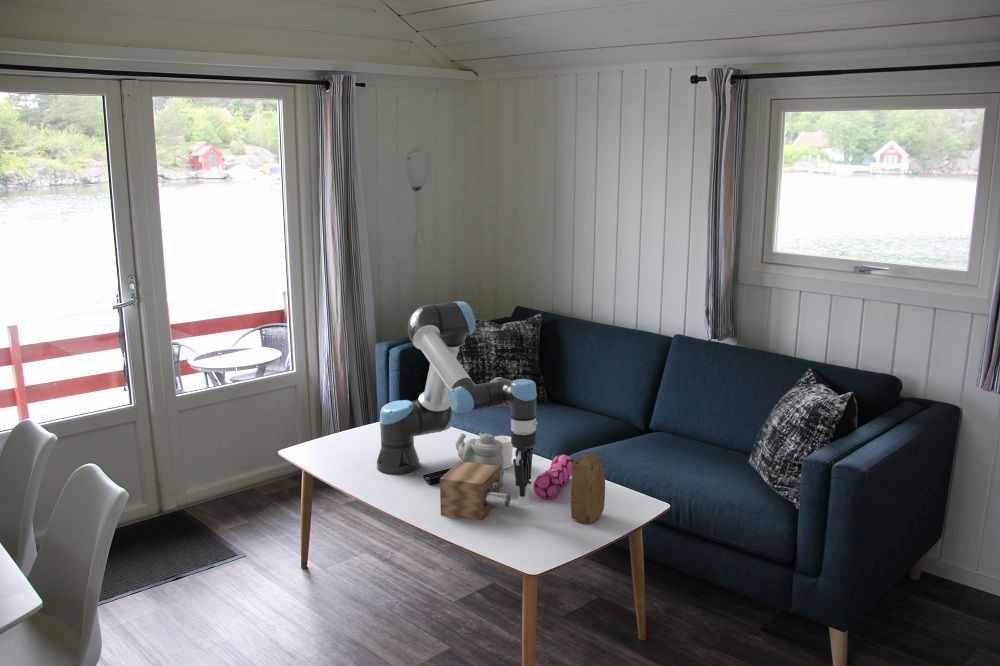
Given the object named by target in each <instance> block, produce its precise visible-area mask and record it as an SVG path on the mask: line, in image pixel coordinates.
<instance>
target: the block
mask: <svg viewBox="0 0 1000 666" xmlns="http://www.w3.org/2000/svg"><path fill="white" fill-rule="evenodd" d="M570 478H571V480H570V514H571V518H572V519H573V520H575V521H576V522H578V523H580V524H593V523H596V522H597V521H598V520H600V519H599V518H600V517H601V516H602V514H603V512H604V509H605V499H606V476H605V471H604V468H603V462H602V457H601V456H600V455H598V454H592V453H584V454H582V455H580V456H578V457H576V458H575V459H573V471H572V476H571V477H570Z"/></svg>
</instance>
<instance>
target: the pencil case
mask: <svg viewBox="0 0 1000 666" xmlns="http://www.w3.org/2000/svg"><path fill="white" fill-rule="evenodd" d="M573 461H574V459H573V458H572V457H570V456H569V455H568V454H567V455H566V454H559V455H555V456H554V458H553V459H552V461H551V463H550V467H549V468H548V469H547V470H545V471H544V472H542V473H540V474H538V476H536V477H535V480H534V482H533V492H534V494H535V495H536V496H537V498H540V499H542V500H549V499H553V498H555V497H556V496H558V494H559V492H560V491H561V489H563V487H564V486H565V485H566V484H567V483H568V481H569V479H570V478H572V477H571V476H572V471H573Z"/></svg>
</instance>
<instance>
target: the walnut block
mask: <svg viewBox="0 0 1000 666" xmlns="http://www.w3.org/2000/svg"><path fill="white" fill-rule="evenodd" d="M495 482H498V484H499V490H498V493H501V486H500V466H495V465H486V464H478V463H470V462H462V460H461V461H460V460H459V461H458V462H457V463H455V465H453V466H452V467H451V468H449V470H448V471H447V472H446V473H444V474H443V475H442V476H441V477H440V478H439V498H440V499H439V501H440V502H439V503H440V516H446V517H451V518H452V517H453V518H458V519H459V518H460V519H466V520H472V521H480V522H481V521H482V522H483V521H484V520H485V519H486V518H487V517H488V516H489V515H490V513H491V512H492V511H493V510H494V509H495V508H496V506H497V505H490V504H484V493H485V492H486V491H487V492H493V484H494V483H495Z"/></svg>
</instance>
